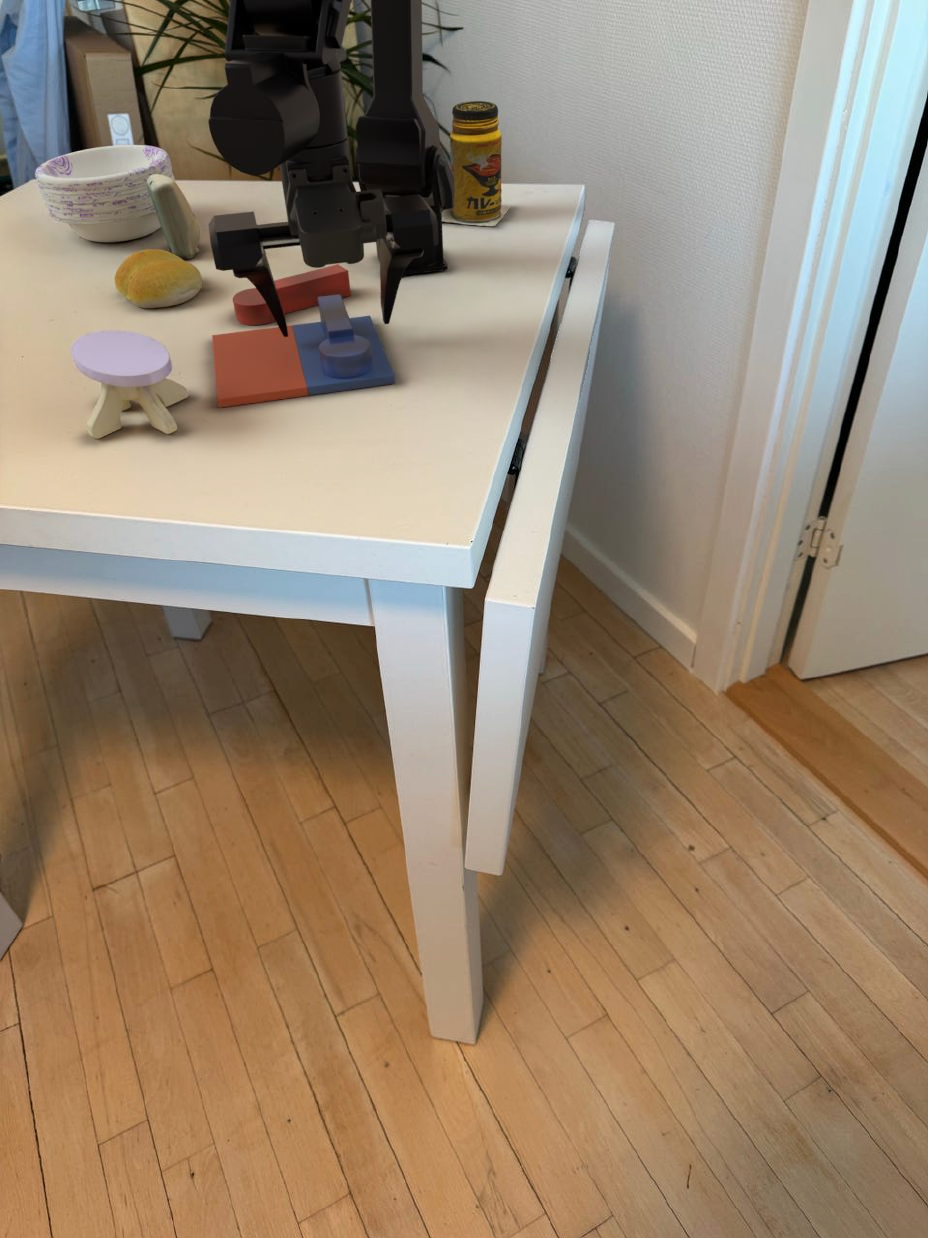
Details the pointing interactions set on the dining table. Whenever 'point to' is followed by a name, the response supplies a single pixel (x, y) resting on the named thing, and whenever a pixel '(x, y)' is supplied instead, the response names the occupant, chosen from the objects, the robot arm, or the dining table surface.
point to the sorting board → (287, 364)
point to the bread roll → (157, 279)
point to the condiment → (476, 165)
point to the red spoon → (292, 294)
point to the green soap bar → (174, 216)
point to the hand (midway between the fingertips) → (336, 328)
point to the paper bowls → (104, 190)
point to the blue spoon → (341, 342)
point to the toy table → (127, 378)
